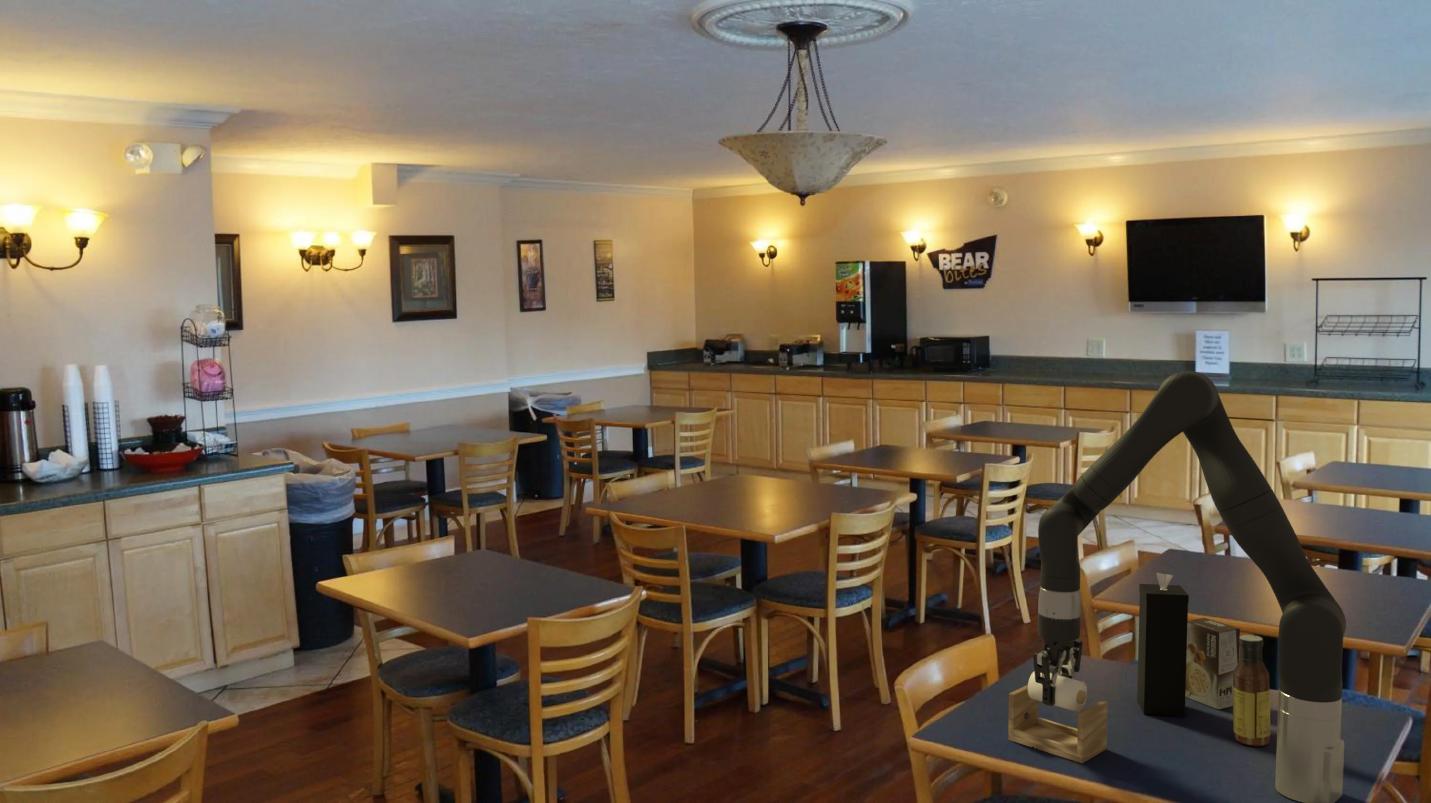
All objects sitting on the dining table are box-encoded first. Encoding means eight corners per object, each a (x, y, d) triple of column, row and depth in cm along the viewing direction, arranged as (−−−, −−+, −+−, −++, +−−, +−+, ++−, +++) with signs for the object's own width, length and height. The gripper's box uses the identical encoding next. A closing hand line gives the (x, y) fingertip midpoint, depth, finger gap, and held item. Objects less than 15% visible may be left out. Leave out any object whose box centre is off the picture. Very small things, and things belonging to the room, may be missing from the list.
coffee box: (1240, 705, 223) (1242, 628, 221) (1217, 710, 220) (1220, 632, 219) (1202, 690, 231) (1205, 616, 230) (1181, 695, 228) (1183, 620, 227)
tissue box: (1185, 717, 216) (1189, 578, 214) (1143, 714, 218) (1146, 577, 215) (1176, 703, 224) (1180, 569, 222) (1136, 700, 226) (1139, 567, 223)
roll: (1089, 708, 201) (1090, 679, 201) (1074, 716, 198) (1075, 686, 197) (1039, 694, 209) (1040, 666, 208) (1024, 701, 205) (1025, 672, 204)
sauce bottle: (1265, 736, 207) (1269, 633, 205) (1273, 749, 201) (1277, 643, 199) (1228, 732, 208) (1231, 631, 207) (1234, 745, 202) (1237, 641, 201)
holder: (1106, 748, 201) (1107, 701, 201) (1082, 763, 195) (1083, 714, 194) (1033, 726, 212) (1034, 681, 211) (1008, 739, 206) (1008, 693, 205)
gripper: (1057, 623, 194) (1055, 716, 195) (1097, 608, 204) (1094, 696, 205) (1020, 615, 199) (1018, 704, 201) (1060, 600, 209) (1058, 686, 211)
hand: (1057, 700), depth 203 cm, fingers closed on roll, 5 cm apart
